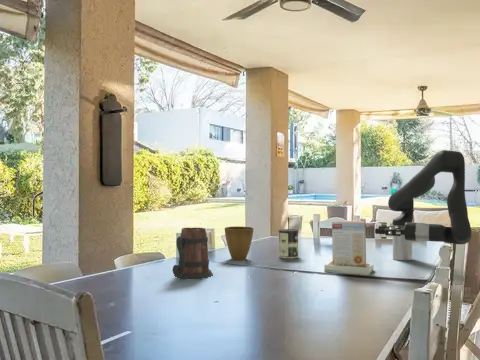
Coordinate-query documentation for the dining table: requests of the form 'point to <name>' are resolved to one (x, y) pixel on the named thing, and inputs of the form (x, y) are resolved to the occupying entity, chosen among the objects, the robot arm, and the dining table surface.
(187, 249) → the tankard
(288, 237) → the coffee can
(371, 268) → the tray
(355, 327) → the dining table surface
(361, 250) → the cracker box
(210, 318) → the dining table surface
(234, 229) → the plant pot
